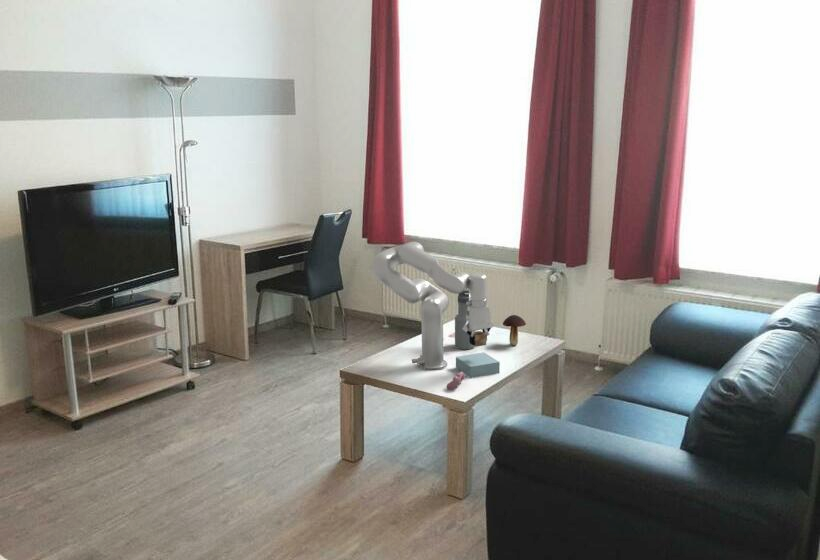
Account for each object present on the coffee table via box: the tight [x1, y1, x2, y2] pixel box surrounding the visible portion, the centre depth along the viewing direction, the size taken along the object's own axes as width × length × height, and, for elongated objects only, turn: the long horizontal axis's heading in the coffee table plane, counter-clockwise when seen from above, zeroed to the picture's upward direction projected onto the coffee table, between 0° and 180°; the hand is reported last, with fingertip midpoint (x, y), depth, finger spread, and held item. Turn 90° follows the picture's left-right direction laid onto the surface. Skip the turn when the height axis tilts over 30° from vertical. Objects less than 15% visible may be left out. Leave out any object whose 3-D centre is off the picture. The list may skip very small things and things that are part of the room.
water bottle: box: [454, 289, 475, 350], centre depth 351 cm, size 10×10×28 cm
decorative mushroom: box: [502, 314, 527, 346], centre depth 353 cm, size 11×11×15 cm
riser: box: [455, 352, 501, 379], centre depth 322 cm, size 14×14×5 cm
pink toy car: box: [445, 371, 467, 390], centre depth 304 cm, size 10×5×7 cm, turn 159°
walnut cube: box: [474, 330, 487, 348], centre depth 319 cm, size 5×5×5 cm
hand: (478, 343), depth 319 cm, fingers closed on walnut cube, 4 cm apart
